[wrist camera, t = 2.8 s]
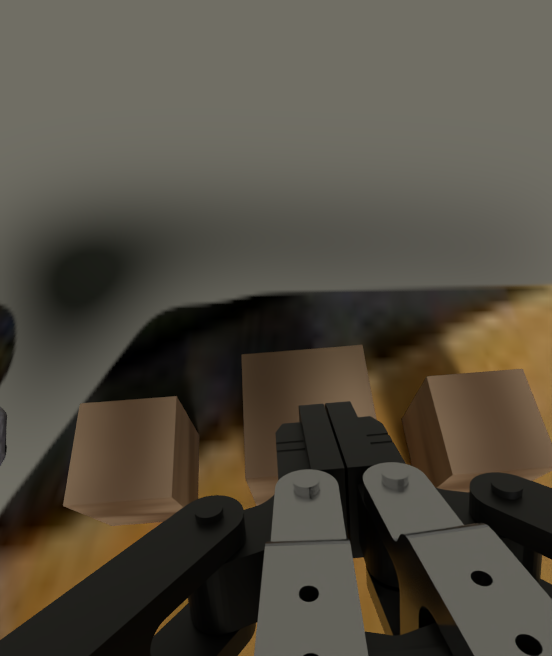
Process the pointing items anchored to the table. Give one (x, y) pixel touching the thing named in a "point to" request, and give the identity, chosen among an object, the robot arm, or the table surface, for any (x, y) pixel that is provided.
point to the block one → (476, 428)
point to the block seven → (133, 461)
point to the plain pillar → (294, 400)
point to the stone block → (2, 435)
